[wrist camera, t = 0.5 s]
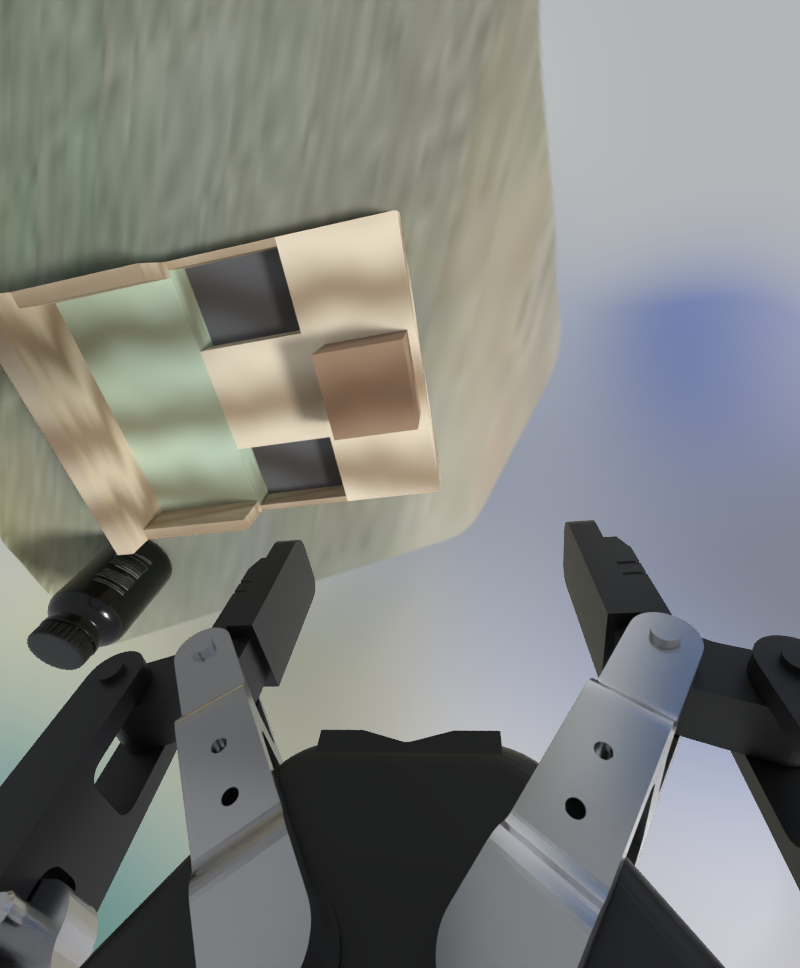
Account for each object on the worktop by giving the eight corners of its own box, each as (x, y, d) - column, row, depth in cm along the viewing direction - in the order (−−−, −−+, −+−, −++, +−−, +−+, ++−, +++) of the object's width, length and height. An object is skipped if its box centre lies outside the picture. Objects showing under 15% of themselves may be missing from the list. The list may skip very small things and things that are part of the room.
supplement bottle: (99, 543, 46) (-5, 631, 35) (148, 526, 44) (53, 614, 33) (139, 589, 48) (54, 684, 38) (187, 576, 47) (111, 671, 36)
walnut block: (324, 344, 30) (311, 355, 27) (407, 329, 29) (402, 339, 26) (344, 422, 33) (334, 440, 30) (420, 412, 32) (417, 429, 29)
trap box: (57, 289, 33) (-39, 299, 26) (399, 212, 28) (385, 202, 22) (168, 507, 42) (117, 555, 36) (440, 477, 38) (438, 525, 31)
